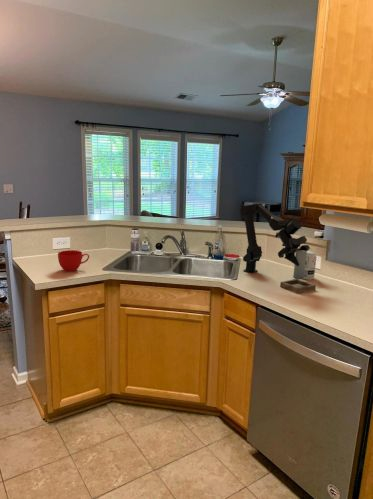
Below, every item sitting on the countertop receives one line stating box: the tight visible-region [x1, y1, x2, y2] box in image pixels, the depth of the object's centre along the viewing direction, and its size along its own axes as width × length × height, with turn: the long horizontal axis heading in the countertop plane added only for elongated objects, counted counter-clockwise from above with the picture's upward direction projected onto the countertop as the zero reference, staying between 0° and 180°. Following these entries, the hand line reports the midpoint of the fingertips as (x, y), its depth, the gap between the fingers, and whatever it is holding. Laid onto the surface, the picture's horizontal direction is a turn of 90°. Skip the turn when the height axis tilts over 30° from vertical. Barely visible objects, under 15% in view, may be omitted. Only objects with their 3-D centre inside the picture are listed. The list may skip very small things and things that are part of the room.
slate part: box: [292, 250, 307, 280], centre depth 185 cm, size 5×5×14 cm
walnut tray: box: [279, 278, 317, 295], centre depth 188 cm, size 12×12×2 cm
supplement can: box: [303, 250, 317, 280], centre depth 205 cm, size 8×8×15 cm
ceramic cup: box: [57, 249, 90, 273], centre depth 205 cm, size 13×17×10 cm
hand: (302, 265), depth 184 cm, fingers closed on slate part, 5 cm apart
